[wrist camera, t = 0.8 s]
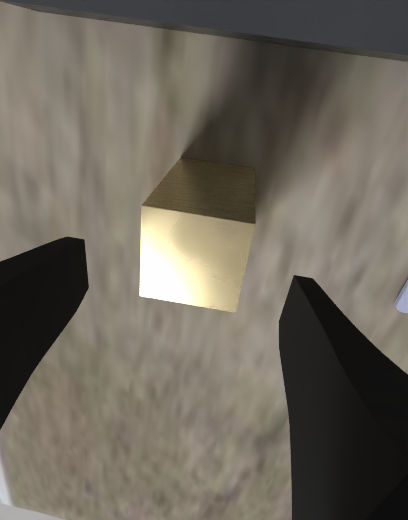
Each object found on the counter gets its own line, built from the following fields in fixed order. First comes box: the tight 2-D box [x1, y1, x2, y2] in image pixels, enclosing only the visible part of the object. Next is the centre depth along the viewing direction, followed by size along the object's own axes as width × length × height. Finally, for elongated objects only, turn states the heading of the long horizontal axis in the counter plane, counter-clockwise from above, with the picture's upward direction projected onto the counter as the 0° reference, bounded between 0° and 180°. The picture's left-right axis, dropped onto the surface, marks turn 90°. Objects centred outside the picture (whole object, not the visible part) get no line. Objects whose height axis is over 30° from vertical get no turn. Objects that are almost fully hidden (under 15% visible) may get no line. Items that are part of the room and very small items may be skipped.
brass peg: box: [140, 158, 256, 313], centre depth 15 cm, size 4×4×7 cm
